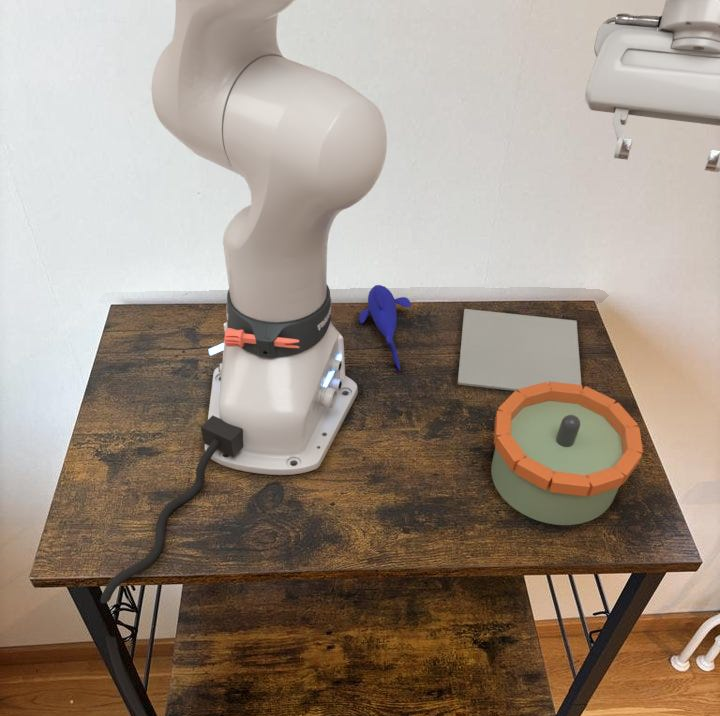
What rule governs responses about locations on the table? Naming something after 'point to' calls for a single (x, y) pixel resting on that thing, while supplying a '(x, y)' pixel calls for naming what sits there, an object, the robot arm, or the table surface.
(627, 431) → the ring
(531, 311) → the table surface
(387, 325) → the fish toy
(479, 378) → the mat
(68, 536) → the table surface
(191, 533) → the table surface
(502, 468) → the stand
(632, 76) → the robot arm
